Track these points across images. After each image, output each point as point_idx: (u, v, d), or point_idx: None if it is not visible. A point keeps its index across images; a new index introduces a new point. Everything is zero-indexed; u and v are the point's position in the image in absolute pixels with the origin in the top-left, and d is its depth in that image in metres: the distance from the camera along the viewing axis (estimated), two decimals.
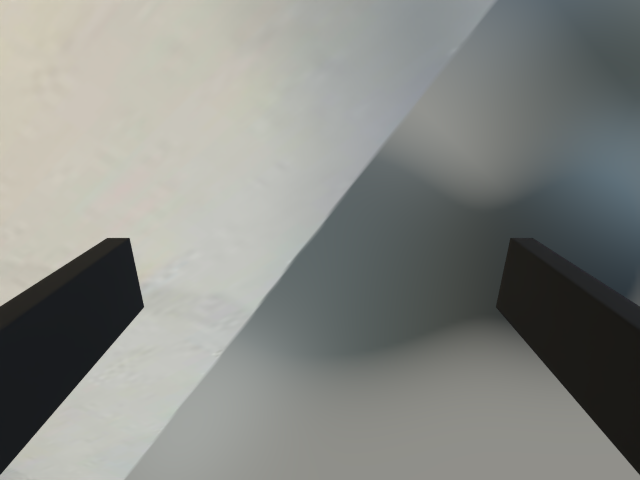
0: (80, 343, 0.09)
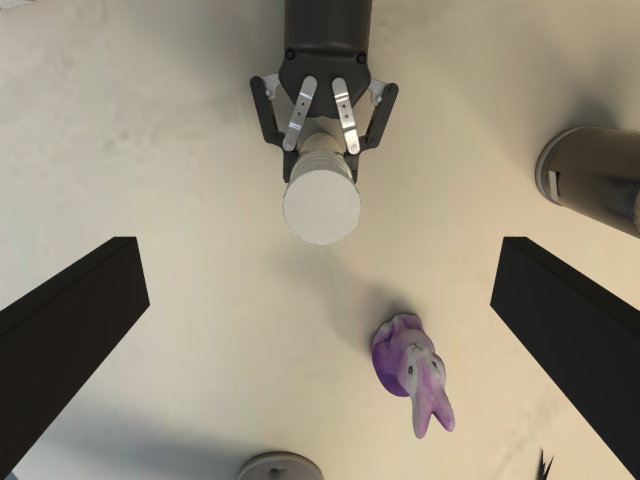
0: (89, 340, 0.10)
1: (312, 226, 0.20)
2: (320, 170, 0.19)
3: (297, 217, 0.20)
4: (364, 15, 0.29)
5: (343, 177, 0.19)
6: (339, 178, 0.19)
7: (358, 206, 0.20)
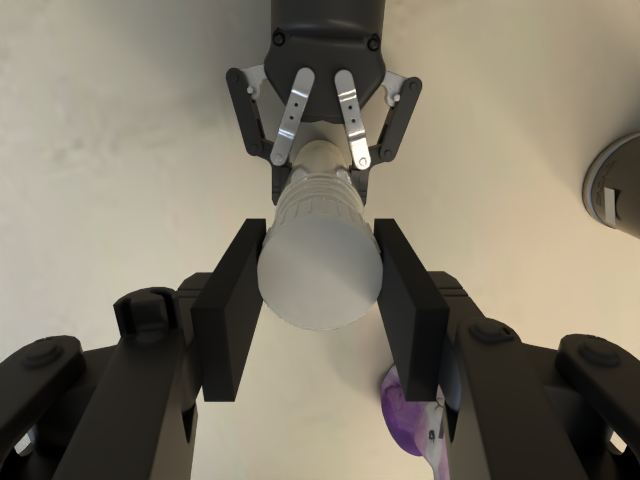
0: (254, 301, 0.11)
1: (305, 304, 0.13)
2: (317, 217, 0.11)
3: (280, 290, 0.12)
4: None
5: (356, 229, 0.11)
6: (349, 230, 0.12)
7: (380, 274, 0.12)
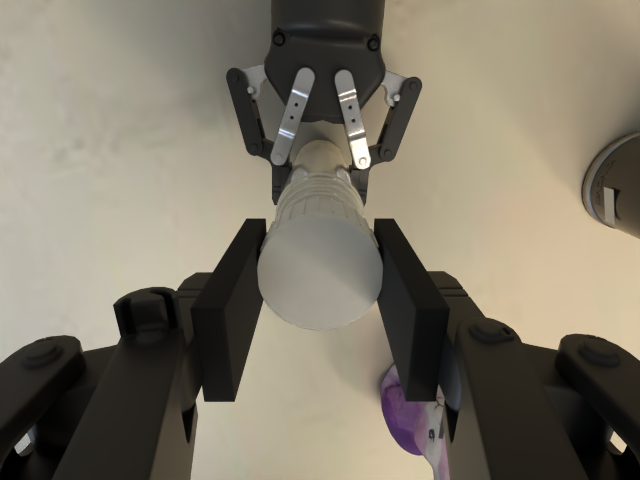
0: (254, 301, 0.11)
1: (349, 292, 0.12)
2: (258, 274, 0.12)
3: (331, 312, 0.13)
4: None
5: (269, 242, 0.12)
6: (270, 248, 0.12)
7: (320, 220, 0.11)
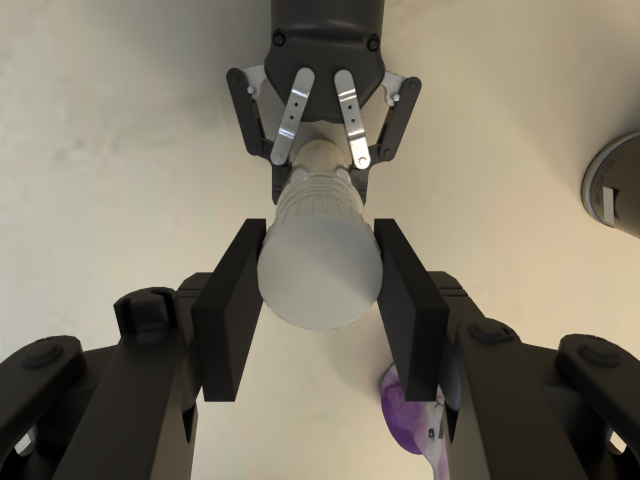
0: (254, 301, 0.11)
1: (339, 251, 0.12)
2: (313, 328, 0.13)
3: (362, 269, 0.12)
4: None
5: (280, 316, 0.13)
6: (286, 316, 0.13)
7: (259, 273, 0.12)
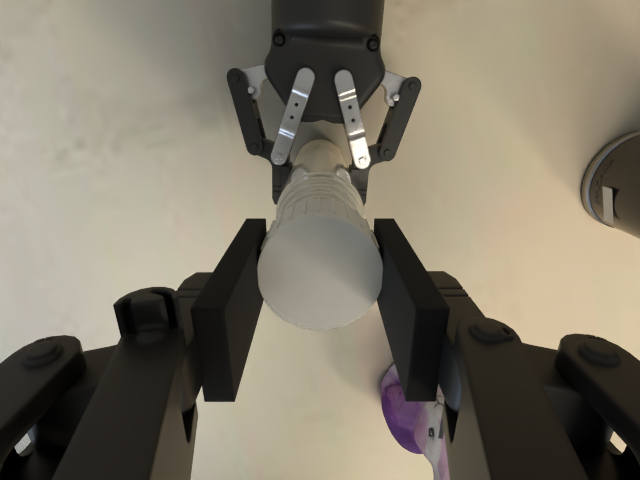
0: (254, 301, 0.11)
1: (292, 257, 0.12)
2: (380, 285, 0.12)
3: (313, 238, 0.12)
4: None
5: (361, 315, 0.13)
6: (361, 309, 0.13)
7: (312, 327, 0.13)
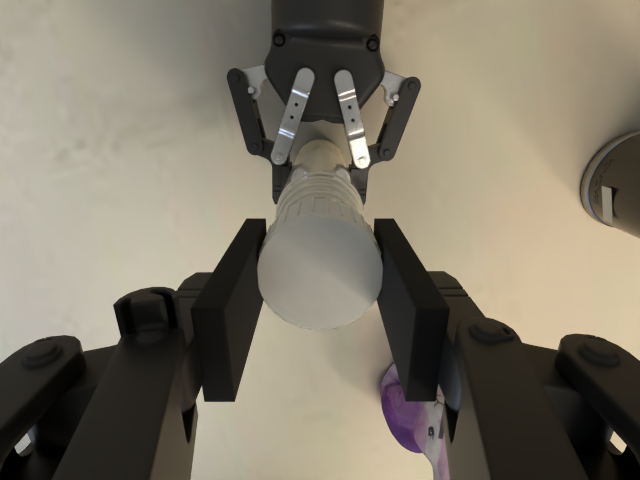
0: (254, 301, 0.11)
1: (297, 299, 0.12)
2: (335, 219, 0.11)
3: (277, 280, 0.12)
4: None
5: (369, 239, 0.12)
6: (362, 239, 0.12)
7: (378, 288, 0.12)
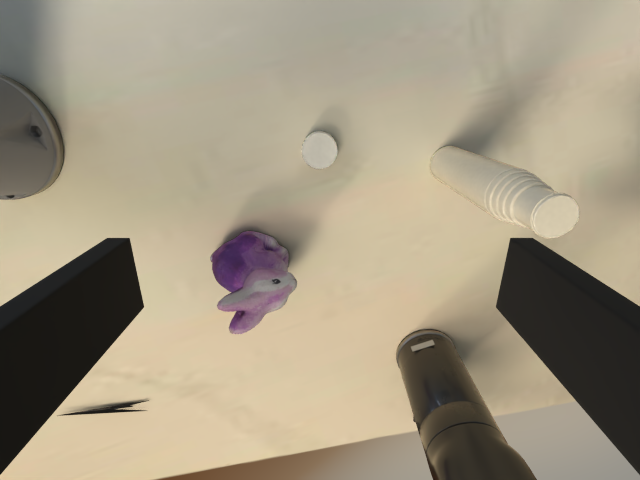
0: (80, 343, 0.09)
1: (313, 158, 0.44)
2: (323, 133, 0.43)
3: (307, 152, 0.43)
4: None
5: (332, 139, 0.43)
6: (331, 139, 0.43)
7: (336, 154, 0.43)
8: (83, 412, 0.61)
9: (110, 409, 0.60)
